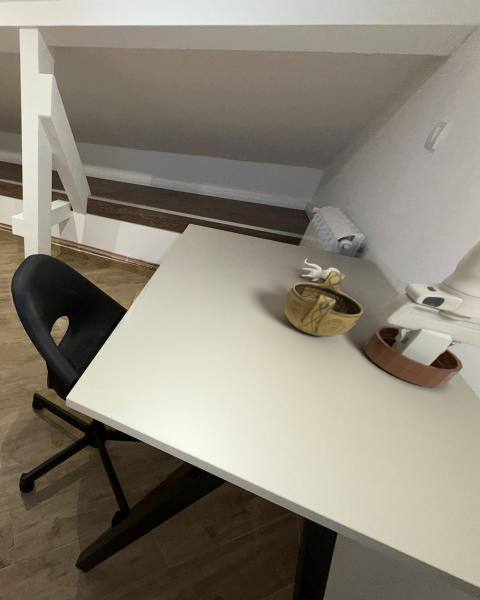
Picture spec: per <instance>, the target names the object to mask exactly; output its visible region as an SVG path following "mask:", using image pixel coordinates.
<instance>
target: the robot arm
mask: <svg viewBox="0 0 480 600" xmlns="http://www.w3.org/2000/svg"><path fill="white" fill-rule="evenodd" d="M381 316H382V318H383V320H384V321H385V323H386V324H389V325H393V326H395V327H398V330H399V334H398V335H397V336H396V338H395V340H396V341H397V342H400V343H404V344H405V343H406V341H408V340H409V338H408V337H407V335H405V332H409V331H410V330H415V331H419V330H420V329H426V330H431V331H435V332H439V333H443V334H447V335H450V336H451V338H452V340H453V342H452V343H451V344H450V345H449V346H448V347H447V348H446V349H445V350H444V351H443V352H442V353H444V352H445V351H446V350H447V349H448V350H449V349H453V348H456V347H459V346H460V345H461V344H465V345H469V346H474V347H478V348H480V240H479V241H478V242H477V243H475V244H474V246H472V247H471V248H470V249H469V250H468V252H467V253H465V255H463V257H462V258H461V259H460V261H459V262H458V263H456V267H455V269H454V271H453V272H452V273H451V274H450V275H448V276H447V277H445V278H444V279H443V280H442V281H441V282H433V283H432V282H431V283H409V284H408V285H406V286H405V288H404V292H402V293H399V294H397V295H396V296H395V297H394V298H393V299H392V300H391V301H390V302H389V303H388V304H387V305H386V306H385V307H384V309H383V310H382V311H381ZM442 353H441V354H442Z"/></svg>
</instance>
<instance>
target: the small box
mask: <svg viewBox="0 0 480 600" xmlns="http://www.w3.org/2000/svg"><path fill="white" fill-rule="evenodd" d="M405 335H407V337H408V338H409V340H408V341H406V343H405V344H404V343H400V342H397V341H396V342H395V343H394V344H393V345H392V346H391V348H393V349H394V350H396V351H397V352H399V353H401V354H403V355H404V356H406V357H408V358H410V359H412V360H415V361H417V362H420V363H422V364H425V365H428V366H429V365H430V364H431V363H432V362H433V361H434V360H435V359H436V358H437V357H438V356H439V355H440V354H441V353H442V352H443V351H444V350H445V349H446V348H447V347H448V346H449V345H450V344H451V343H452V342H453V340H452V338H451V336H450V335H447V334H443V333H439V332H435V331H431V330H426V329H420V330H419V331H415V330H410V331H409V332H405Z"/></svg>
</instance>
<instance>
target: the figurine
mask: <svg viewBox="0 0 480 600" xmlns="http://www.w3.org/2000/svg"><path fill="white" fill-rule="evenodd" d="M307 260H308V258H305V259H304V261H303V262H304V264H305V265H307V266H311V267H313V268H310V267H309V268H308V267H302V269H301V270H303V271H307V272H308V274H301V275H300V277H301V278H307V279H309V278H311V279H312V280H311V282H317V281H318V280H319V279H320V278H322V279H324V280H325V279H326V278H327V276H328V275H329V273H330V272H331V271H336V272H339V273H341V271H340V270H338V268H335V267H328V268H327V269H322V268H321V266H320V265H318V264H316V263H309V262H307Z"/></svg>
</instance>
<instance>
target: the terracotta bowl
mask: <svg viewBox="0 0 480 600" xmlns="http://www.w3.org/2000/svg"><path fill="white" fill-rule="evenodd" d="M398 334H399V330H398V326H391V325H382V326H381V325H380V326H378V327H377V328H375V329H374V331H372V333H371V334H370V335H369V337H368V338H367V339H366V341H365V342H364V343H363V348H362V349H363V351H364V353H365V355H366V356H367V357H368V358H369V359H370V360H371V361H372V362H373V363H374V364H375V365H377V366H379V367H380V368H381V369H383V370H384V371H386V372H388V373H389V374H391V375H393V376H395V377H397V378H399V379H402V380H403V381H406V382H408V383H411V384H415V385H417V386H420V387H426V388H431V389H437V388H443V387H444V386H445V385H446V384H447V383H449V381H451V380H452V379H453V378H454V377H455V376H456V375H457V374H459V372H461V371H462V369H463V368H464V366H463V363H462V361H461V360H460V358H459V357H458V356H457V355H456V354H455V353H453V352H452V351H451V350H449V349H447V350H446V351H445V352H444V353H442V354H440V355H439V356H438V357H437V358H436V359H435V360H434V361H433V362H432V363H431V364H430V365H429V366H428V365H425V364H422V363H420V362H417V361H415V360H412V359H410V358H408V357H406V356H404V355H403V354H401V353H399V352H397V351H396V350H394V349H393V348H391V346H392V345H393V344H394V343H395V342H396V340H395V338H396V336H397V335H398Z"/></svg>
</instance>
